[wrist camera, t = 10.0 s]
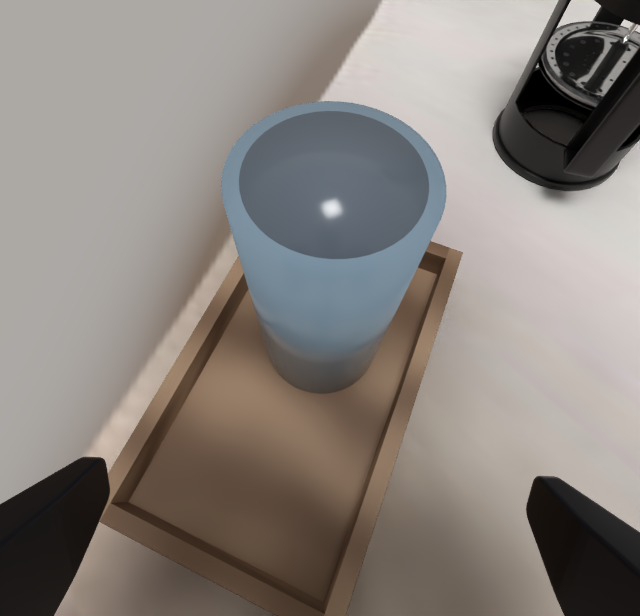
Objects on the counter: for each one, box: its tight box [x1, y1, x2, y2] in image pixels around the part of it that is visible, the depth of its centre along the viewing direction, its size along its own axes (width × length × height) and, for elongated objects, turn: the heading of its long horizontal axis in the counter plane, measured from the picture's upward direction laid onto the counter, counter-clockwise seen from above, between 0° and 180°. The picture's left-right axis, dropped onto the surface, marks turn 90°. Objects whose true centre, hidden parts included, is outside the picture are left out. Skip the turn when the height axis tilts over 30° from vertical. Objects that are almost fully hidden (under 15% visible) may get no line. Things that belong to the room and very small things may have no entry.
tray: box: [99, 241, 463, 616], centre depth 22 cm, size 20×12×2 cm, turn 157°
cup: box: [221, 101, 446, 394], centre depth 17 cm, size 6×6×13 cm
